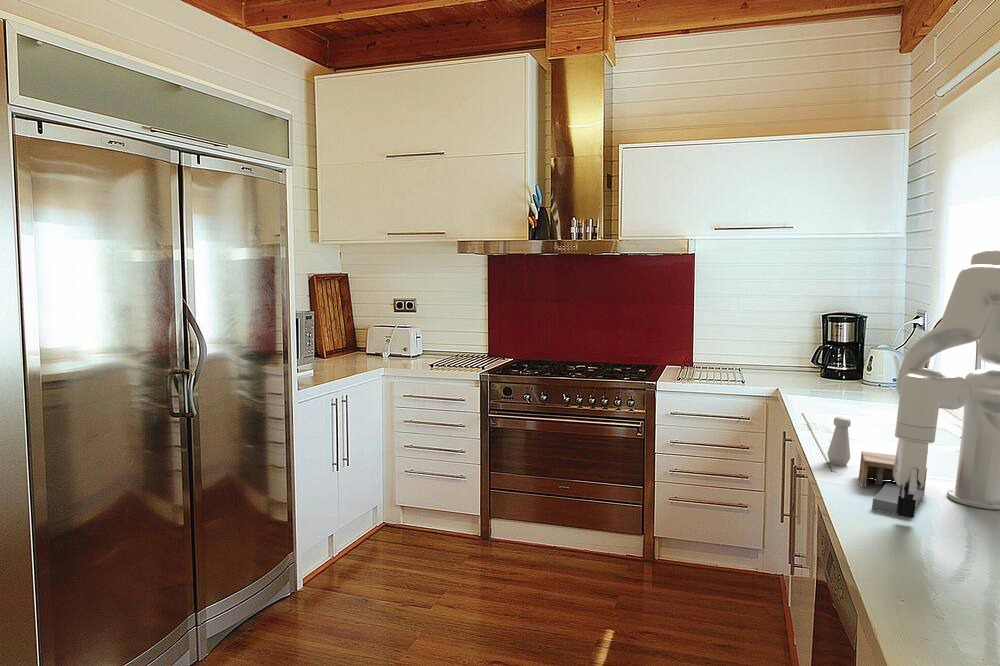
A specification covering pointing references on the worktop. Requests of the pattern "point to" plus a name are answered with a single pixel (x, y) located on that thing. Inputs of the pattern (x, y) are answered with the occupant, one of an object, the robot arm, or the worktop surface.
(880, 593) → the worktop surface
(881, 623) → the worktop surface
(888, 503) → the board
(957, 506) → the worktop surface
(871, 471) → the open wooden box
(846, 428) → the salt shaker
